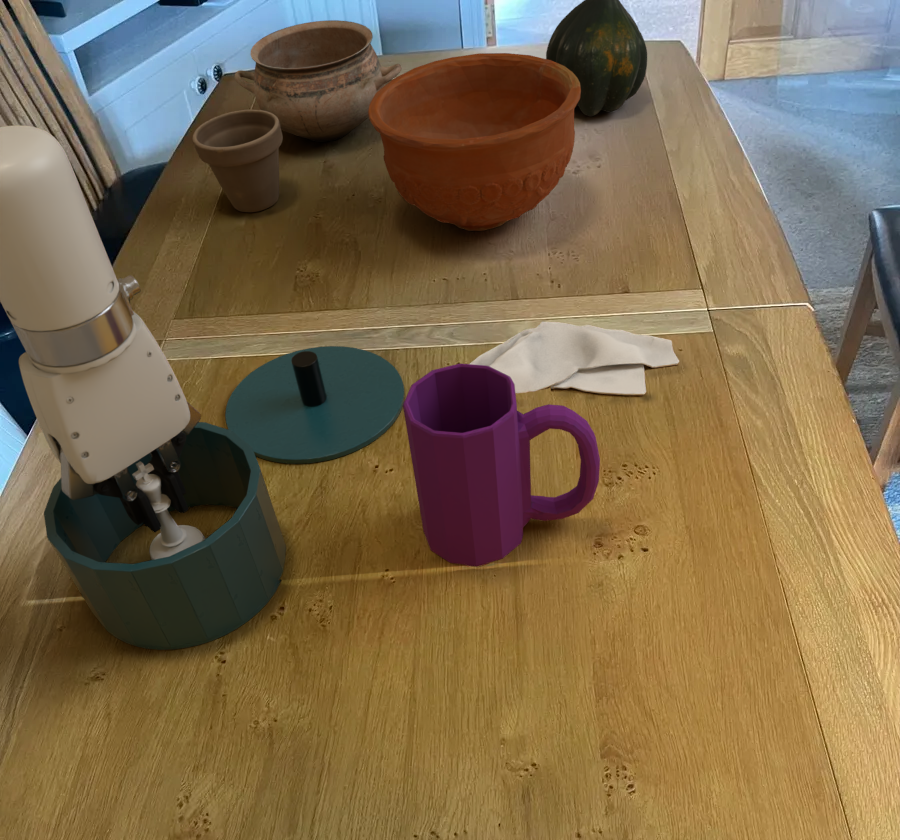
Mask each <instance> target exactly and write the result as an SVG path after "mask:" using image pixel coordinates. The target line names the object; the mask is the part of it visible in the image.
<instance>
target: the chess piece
mask: <svg viewBox="0 0 900 840" xmlns="http://www.w3.org/2000/svg"><path fill="white" fill-rule="evenodd" d="M136 466H137V468H138V471H136V472H135V473H133V474H132V475H133V478H134V479H135V480H138V481H137V483H136V486H137V487H138V488H139V489H140V490H141V491H143V492H144V493H145V494H146V495H147V496H148V498H149V501H150V503H151V505H152V507H153V509H154V511H155V513H156V516H157V518H158V520H159V522H160V524H161V527H160V530H159V531H160V532H158V534H157V535H156V536H155V537H154V538H153V539H152V541H151V543H150V545H149V550H148V551H149V556H150V560H155V559H160V558H164V557H169V556H171V555H174V554H176V553H178V552H180V551H182V550H184V549H186V548H189V547H191V546H193V545H195V544H197V543H199V542H201V541H204V540H205V539H206V537H205V535H204V534H203V533H202V531H201V530H200V529H199V528H197V527H195V526H193V525H188V524H180V525H179V524H177V522H176V521H175V519H174V518H173V516H172V515H171V512H169V511H168V510H167V508H168V507H169V506H170V504H171V500H170V499H169V497H168V496H167V495H165V494H161V479H160V477H159V476H157V475H155V474H148V473H149V472H151V471H152V470H154V468H153V466H152V465H151V464H150V463H149V464H147V465H145V466H144V464H143V463H142V462H141V461H140V462H138V463H137V464H136Z"/></svg>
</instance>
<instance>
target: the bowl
mask: <svg viewBox="0 0 900 840" xmlns="http://www.w3.org/2000/svg"><path fill="white" fill-rule="evenodd" d="M580 93H581V88H580V82H579V80H578V78H577V77H576V76H575V74H574V73H573V72H572V71H570V70H569V69H568V68H566V67H565V66H563V65H561V64H558V63H556V62H554V61H551V60H548V59H546V58H544V57H539V56H535V55H531V54H520V53H510V52H509V53H508V52H498V53H497V52H488V53H486V52H484V53H482V52H481V53H472V54H467V55H459V56H452V57H447V58H443V59H438V60H434V61H430V62H428V63H424V64H422V65H419V66H416V67H414V68H412V69H410V70H408V71H406V72H404V73H402V74H400V75H397V76H396V77H394V78H393V79H392V80H391V81H389V82H387V83H385V84H384V86H383V88H381V89H380V90H379V91H378V92H377V93H376V94H375V95H374V97H373V99H372V101H371V103H370V104H369V109H368V114H369V117H368V119H369V121H370V123H371V125H372V127H373V128H374V129H375V131H376V132H378V134H380V140H381V143H382V146H383V161H384V165H385V168H386V171H387V174H388V176H389V178H390V180H391V182H392V183H393V184H394V187H395V188H396V190H397V192H398V193H399V195H400V196H401V197H402V198H403V200H404V201H406V202H407V203H408V204H409V205H410V206H415V207H416V208H418V209H419V210H420V212H422V213H424V214H425V215H427V216H428V217H431V218H433V219H435V220H437V221H438V222H439V223H440V222H441V223H444V224H445V223H446V224H451V225H455V226H456V227H457V228H459V229H462V230H464V231H469V232H470V231H473V232H474V231H475V232H484V231H488V230H491V229H495V228H498V227H500V226H503V225H504V224H505V223H507V222H508V221H511V220H514V219H518V218H521V216H522V215H524V214H525V213H527V212H529V211H532V210H534V209H536V208H537V206H538V205H539V203H541V202H542V201H543V200H544V199H546V197H547V196H549V195H550V194H551V192H552V191H553V189H554V188H555V187H557V186H558V184H559V182H560V179H562V178H563V177H564V175H565V173H566V169H567V167H568V165H569V163H570V161H571V158H572V155H573V152H574V147H575V141H576V140H575V139H576V138H575V137H576V131H575V108H576V107H577V106H576V105H577V103H578V101H579V100H580Z"/></svg>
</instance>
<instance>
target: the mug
mask: <svg viewBox="0 0 900 840" xmlns="http://www.w3.org/2000/svg"><path fill="white" fill-rule="evenodd" d="M402 410H403V414H404V422H405V427H406V433H407V440H408V445H409V451H410V452H409V453H410V457H411V463H412V469H413V476H414V482H415V487H416V492H417V493H416V494H417V499H418V501H417V502H418V506H419V507H418V508H419V512H420V519H421V524H422V529H423V530H422V531H423V534H424V537H425V539H426V542H427V545H428V547H429V550H430V551H431V552H433V553H434V554H435V555H437V556H439V557H441V558H442V559H444V560H445V561H447V562H448V563H450V564H456V565H463V566H467V567H476V568H477V567H480V566H484V565H488V564H490V563H492V562H496V561H499V560H503V559H504V558H505V557H507V556H508V555H509V554H510V553H511V552H513V551H514V550H515V549H516V548H517V547H519V546H520V545H521V544H522V540H523V536H524V527H525V526H526V525H527V524H528V523H529V522H530V521H531V520H537V521H541V522H547V521H557V520H562V519H563V520H564V519H566V518H569V517H572V516H574V515H578V514H579V513H580V512H581V511H582V510H584V508H585V507H587V506H588V505H589V504H590V503H591V502H592V501H593V500H594V497H595V494H596V491H597V488H598V485H599V482H600V466H601V457H600V451H599V447H598V442H597V437H596V434H595V432H594V430H593V429H592V427H591V425H590V424H589V422H588V420H587V419H586V418H584V417H582V416H581V415H580V414H578V412H577V411H575V410H573V409H571V408H569V407H567V406H565V405H561V404H550V403H549V404H545V405H541V406H537V407H534V408H533V409H531V410H529V411H527V412H525V413H523V412H520V411H519V410H518V404H517V393H515V384H514V383H513V381H512V379H511V377H510V376H508V375H506V374H504V373H502V372H500V371H498V370H496V369H494V368H492V367H490V366H486V365H473V364H470V363H456V364H452V365H448V366H444V367H440V368H436V369H432V370H430V371H429V372H428V373H426V374H425V375H423V376H422V377H420V378H419V379H418V380H416V381H415V382H413V383H412V384H411V386H410V387H409V389H408V392H407V394H406V397H405V398H404V403H403V406H402ZM548 430H561V431H564V432H566V433H569V434H570V435H571V436H572V437H573V438H574V440H575V442H576V444H577V447H578V453H579V458H580V465H579V478H578V480H577V484H576V486H574V487H573V488H572V489H570V490H569V491H567V492H565V493H562V494H560V495H556V496H543V495H532V484H531V483H532V482H531V481H532V477H531V476H532V475H531V440H533V439H534V438H536V437H538V436H539V435H541V434H543V433H545V432H547V431H548Z"/></svg>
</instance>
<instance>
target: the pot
mask: <svg viewBox="0 0 900 840" xmlns="http://www.w3.org/2000/svg"><path fill="white" fill-rule="evenodd" d="M179 460H180V463H181V467H180V469H179V470H178V473H179V476H180V478H181V480H182V483H183V485H184V488H185V490H186V494H184V495H183V497H184V499H185V502H186V504H187V506H188V509H189V508H193V507H198V506H221V507H231V508H234V509H236V510H235V512H233V515H232V516H231V518H230V519H228V520H227V521H226V522H225V523H223V524H222V525H221V526H220V527H218V528H217V529H216V530H214V532H212V533H211V534H210V535H209V536H208V537H205V540H204V541H201V542H199V543H197V544H195V545H193V546H191V547H189V548H186V549H184V550H182V551H180V552H178V553H176V554H174V555H171V556H169V557H164V558H160V559H155V560H151V559H150V560H146V561H140V562H136V563H124V562H107V561H108V559H109V558H110V556H111V555H112V554H113V553H114V551H115V550H116V548H117V547H118V546H119V544H121V542H122V541H123V540H125V539H126V538H127V537H129V536H130V535H131V534H133V533H134V532H135V531H136V530H137V529H139V528H140V527H142V526H143V525H144V524H143V523H141V524H140V525H137V524H135V523H134V522H133V521H132V520H131V519H130V517H129V516H128V514H127V512H126V510H125V508H124V506H123V504H122V502H121V500H120V498H117V497H111V496H104V495H100V494H95V495H94V496H91V497H87V498H82V499H78V500H72V499H71V498H70V497H68V496H67V495H66V494H65V493H64V492H63V491H62V487H61V477H60V478H59V479H58V480H57V481H56V483H55V484H54V485H53V487H52V490H51V492H50V495H49V498H48V500H47V502H46V506H45V509H44V511H43V518H44V525H45V532H46V538H47V540H48V542H49V543H50V545H51V546H52V548H53V550H54V551H55V553H56V555H57V556H58V559H59V560H60V562H61V563H62V565H63V566H64V568H65V570H66V572H67V573H68V575H69V576H70V578H71V580H72V582H73V584H74V585H75V586H76V588H77V589H78V591H79V593H80V594H81V597H82V598H83V599H84V601H85V603H86V604H87V606H88V608H89V610H90V612H91V614H93V615H94V617H95V618H96V619H97V620H98V621H99V623H100V625H101V626H102V627H103V629H105V631H107V632H108V633H109V634H110V635H112V636H113V637H114V638H116V639H118V640H119V641H121V642H123V643H125V644H128V645H130V646H134V647H138V648H142V649H148V650H157V651H158V650H159V651H165V650H168V651H169V650H171V651H173V650H181V649H187V648H192V647H197V646H200V645H204V644H207V643H209V642H214V641H215V640H218V639H220V638H222V637H225V636H227V635H228V634H230V633H232V632H233V631H235V630H237V629H239V628H240V627H242V626H243V625H244V624H247V623H248V622H249V621H250V620H251V619H253V618H254V617H255V616H256V615H257V614H259V613H260V612H261V610H263V609H264V607H266V605H267V604H268V603H269V602H270V600H271V599H272V598H273V596H275V594H276V592H277V590H278V588H279V587H280V584H281V582H282V579H281V577H282V575H284V574H283V573H284V569H285V563H286V561H285V560H286V555H287V554H286V553H287V545H286V542H285V539H284V536H283V532H282V530H281V527H280V523H279V521H278V518H277V515H276V512H275V508H274V505H273V503H272V499H271V496H270V493H269V491H268V488H267V484H266V482H265V479H264V475H263V472H262V469H261V467H260V464H259V461H258V459H257V456H255V454H254V451H253V448H252V447H251V446H250V445H249V444H247V443H246V442H245V441H244V440H243V439H241V438H240V437H239V436H238V435H236V434H235V433H234V432H233V431H231V430H228V428H225V427H221V426H218V425H215V424H211V423H208V422H205V421H199V422H198V423H197V425H196V426H195V427H194V429H193V430H192V431H191V432H190V434H189V435H188V434H187V435H186V441H185V444H184V446H183V449H182V452H181V454H180V457H179ZM140 461H141V462H142V463H143V464H144V466H145V465H147V464H148V462H149V461H151V458H150V457H149V455H148V454H147V455H145V456H144V457H142V458H141V459H139V460H138V461H136V462H134V463H133V464H131V465H130V466H128V467H127V468H128V470H129V473H130V475H131V477H132V479H133V482H134V484H135V485H136V483H137V481H138V480H135V479H134V478H133V475H132V474H133V473H135V472H136V471H138V468H137V466H136V464H137V463H138V462H140ZM148 474H150V472H149V473H148ZM167 510H168V511H169V513H171V512H173V511H176V510H175V509H174V508H173V507H171V506H169V507H168V508H167Z"/></svg>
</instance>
